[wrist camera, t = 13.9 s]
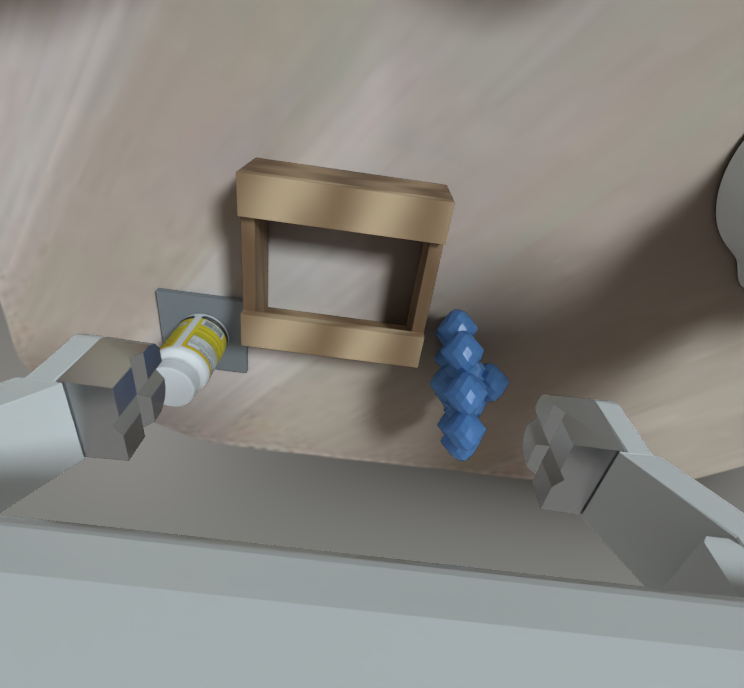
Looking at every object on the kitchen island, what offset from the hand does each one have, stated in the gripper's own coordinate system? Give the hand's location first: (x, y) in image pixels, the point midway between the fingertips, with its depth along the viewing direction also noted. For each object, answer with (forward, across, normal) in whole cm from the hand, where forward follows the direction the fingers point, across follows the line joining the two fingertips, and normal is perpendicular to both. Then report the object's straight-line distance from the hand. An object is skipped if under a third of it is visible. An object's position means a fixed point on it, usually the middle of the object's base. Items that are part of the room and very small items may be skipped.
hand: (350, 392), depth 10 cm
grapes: (+29, -10, +16) cm, 35 cm away
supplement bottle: (+29, +14, +18) cm, 37 cm away
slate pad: (+29, +14, +18) cm, 37 cm away
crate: (+29, +2, +8) cm, 30 cm away
